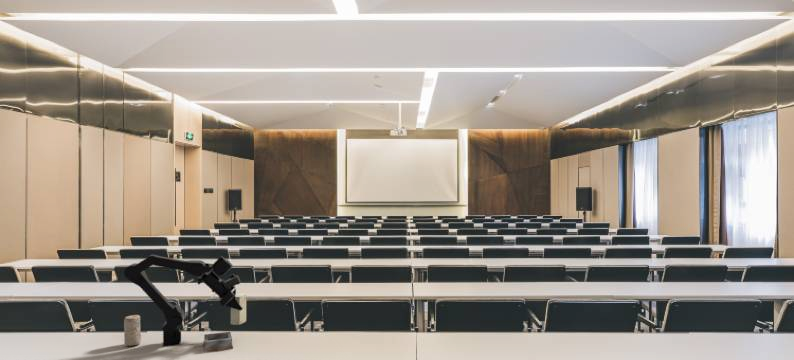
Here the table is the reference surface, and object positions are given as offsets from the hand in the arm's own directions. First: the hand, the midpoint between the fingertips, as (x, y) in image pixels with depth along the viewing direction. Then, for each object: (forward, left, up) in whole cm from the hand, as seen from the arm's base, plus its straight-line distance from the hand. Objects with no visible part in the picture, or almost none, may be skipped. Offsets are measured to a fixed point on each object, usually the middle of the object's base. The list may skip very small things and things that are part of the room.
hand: (241, 307), depth 225 cm
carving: (-43, +7, -13) cm, 46 cm away
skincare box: (-1, 0, -7) cm, 7 cm away
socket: (-10, -8, -13) cm, 19 cm away
